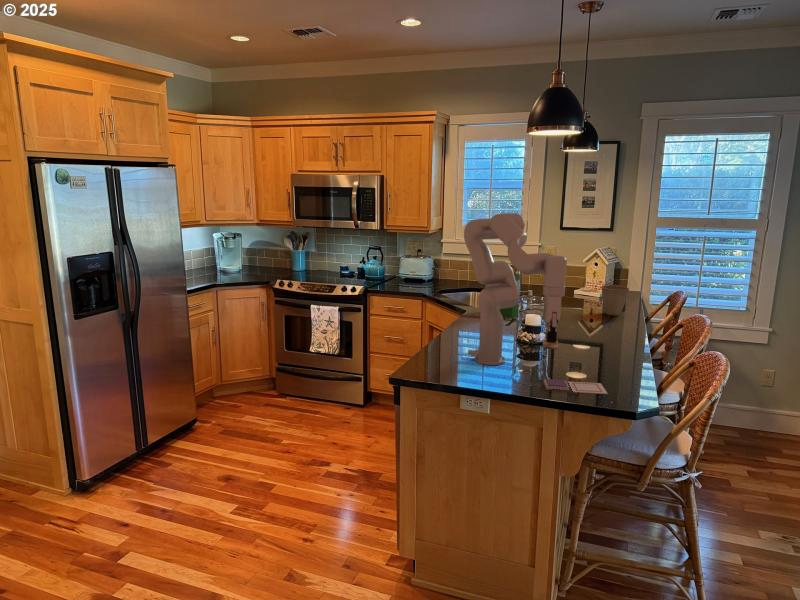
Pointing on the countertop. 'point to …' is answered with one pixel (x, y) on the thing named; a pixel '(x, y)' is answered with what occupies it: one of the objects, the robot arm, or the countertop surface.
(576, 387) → the note card
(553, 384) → the ink pad
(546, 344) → the stamp
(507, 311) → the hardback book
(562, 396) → the countertop surface
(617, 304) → the plant pot
